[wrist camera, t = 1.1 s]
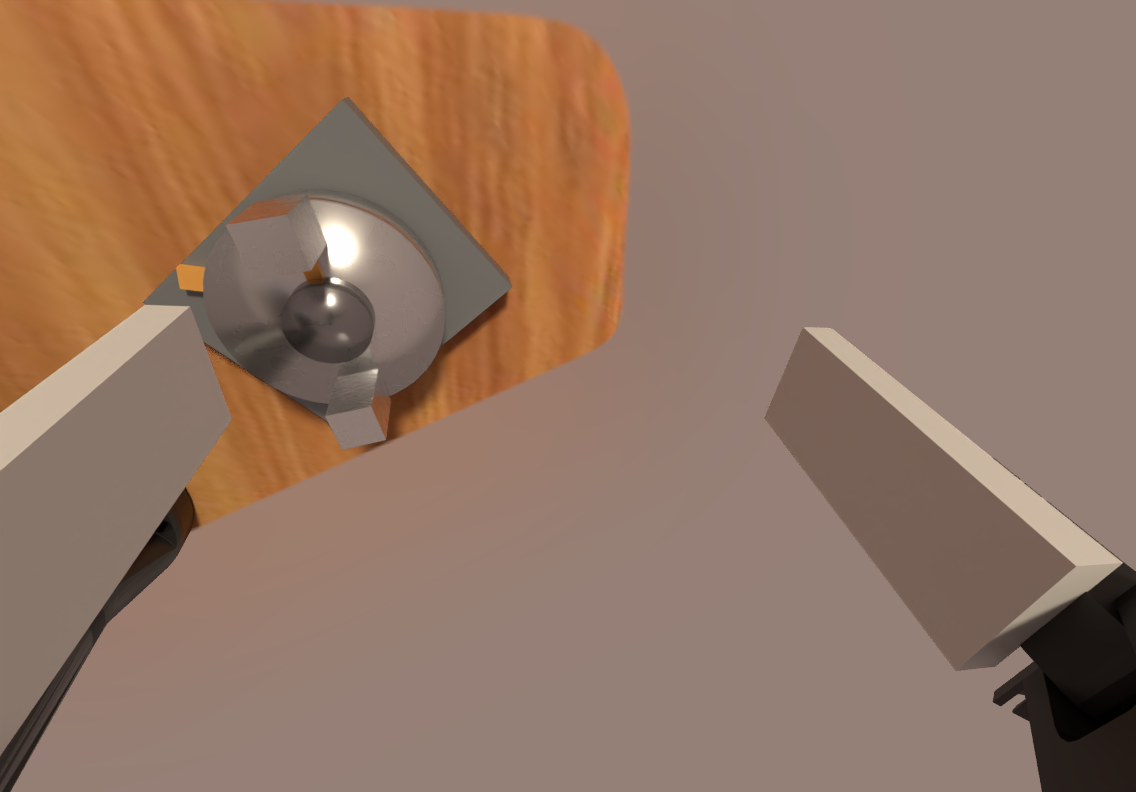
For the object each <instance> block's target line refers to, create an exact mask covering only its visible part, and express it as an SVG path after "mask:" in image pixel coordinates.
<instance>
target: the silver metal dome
mask: <svg viewBox="0 0 1136 792" xmlns="http://www.w3.org/2000/svg"><path fill="white" fill-rule="evenodd" d="M226 227H227V230H226V231H225V232H224V233H223V235H222V236H221V237H220V238H219V239H218V241H217V242H216V244H215V245H214V247H213V249H212V251H211V253H210V254H209V257H208V260H207V263H206V266H205V271H204V278H203V297H204V302H205V307H206V311H207V314H208V317H209V320H210V323H211V325H212V327H213V329H214V331H215V333H216V335H217V336H218V338H219V340H220V341H221V342H222V344H223V345H224V347H225V348H226V350H227V351H228V352H229V353H230V354H231V355H232V356H233V357H234V359H235V360H236V361H237V362H238V363H239V364H241V365H242V366H243V367H244V368H245V369H246V370H247V371H249V372H250V373H251V374H253V375H254V376H255V377H257V378H258V379H260V380H261V381H263V382H265V383H266V384H268V385H270V386H272V387H273V388H275V389H278V390H280V391H282V392H284V393H286V394H289V395H292V396H295V397H298V398H301V399H304V400H309V401H313V402H318V403H325V404H329V405H328V409H327V412H326V415H325V417H326V419H327V421H328V423H329V425H330V427H331V429H332V431H333V433H334V435H335V437H336V438H337V440H338V442H339V444H340V446H341V448H342V450H344V449H349V448H353V447H358V446H362V445H367V444H371V443H375V442H380V441H384V440H386V437H387V429H388V421H389V414H390V406H391V398H390V396H391V395H393V394H396V393H397V392H399V391H401V390H403V389H405V388H406V387H408V386H409V385H410V384H412V383H413V382H415V381H416V380H417V379H418V378H419V377H420V376H421V375H422V374H423V373H424V372H425V371H426V370H427V368H428V367H429V366H430V365H431V363H432V361H433V360H434V358H435V356H436V355H437V352H438V350H439V347H440V345H441V342H442V338H443V334H444V325H445V309H444V291H443V285H442V280H441V276H440V273H439V271H438V268H437V265H436V263H435V261H434V259H433V257H432V255H431V253H430V252H429V250H428V249H427V247H426V246H425V244H424V243H423V241H422V240H421V239H420V238H419V237H418V236H417V234H416V233H415V232H414V231H413V230H412V229H411V228H410V227H409V226H408V225H406V224H405V223H404V222H403V221H402V220H401V219H399V218H398V217H397V216H395V215H394V214H392V213H391V212H390V211H388V210H386V209H385V208H383V207H381V206H379V205H377V204H376V203H373V202H371V201H369V200H366V199H364V198H362V197H359V196H355V195H352V194H348V193H345V192H339V191H333V190H323V189H307V190H296V191H292V192H288V193H283V194H280V195H277V196H275V197H272V198H270V199H267V200H266V201H260V202H255V203H253V204H252V205H251V206H249V207H248V208H247V209H246V210H244V211H243V212H242V213H240V214H239V215H238V216H236V217H235V218H234V219H233V220H231V221H230V222H229V223H227V224H226Z"/></svg>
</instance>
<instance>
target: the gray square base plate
mask: <svg viewBox="0 0 1136 792" xmlns="http://www.w3.org/2000/svg"><path fill="white" fill-rule="evenodd" d="M307 189H323V190H333V191H339V192H345V193H348V194H352V195H355V196H359V197H362V198H364V199H366V200H369V201H371V202H373V203H376V204H377V205H379V206H381V207H383V208H385V209H386V210H388V211H390V212H391V213H392V214H394V215H395V216H397V217H398V218H399V219H401V220H402V221H403V222H404V223H405V224H406V225H408V226H409V227H410V228H411V229H412V230H413V231H414V232H415V233H416V234H417V236H418V237H419V238H420V239H421V240H422V241H423V243H424V244H425V246H426V247H427V249H428V250H429V252H430V253H431V255H432V257H433V259H434V261H435V263H436V265H437V268H438V271H439V273H440V276H441V280H442V285H443V291H444V309H445V325H444V334H443V338H442V342H441V345H440V347H441V346H442V345H443V344H445V343H446V342H447V341H448V340H449V339H451V338H452V337H453V336H454V335H456V334H457V333H458V332H459V331H460V330H462V329H463V328H464V327H465V326H466V325H468V324H469V323H470V322H471V321H472V320H474V319H475V318H476V317H477V316H478V315H480V314H481V313H482V312H483V311H484V310H486V309H487V308H488V307H489V306H490V305H492V304H493V303H494V302H495V301H496V300H498V299H499V298H500V297H501V296H502V295H504V294H505V293H506V292H507V291H508V290H510V289H511V288H512V286H511V283H510V280H509V277H508V276H507V275H506V273H505V272H504V271H503V270H502V269H501V268H500V267H499V266H498V264H497V263H496V262H495V261H494V260H493V259H492V258H491V257H490V255H489V254H488V253H487V252H486V251H485V250H484V249H483V248H482V247H481V245H480V244H479V243H478V242H477V241H476V240H475V239H474V238H473V236H472V235H471V234H470V233H469V232H468V231H467V230H466V229H465V227H464V226H463V225H462V224H461V223H460V222H459V221H458V220H457V218H456V217H455V216H454V215H453V214H452V213H451V212H450V211H449V210H448V208H447V207H446V206H445V205H444V204H443V203H442V202H441V201H440V199H439V198H438V197H437V196H436V195H435V194H434V193H433V192H432V190H431V189H430V188H429V187H428V186H427V185H426V184H425V183H424V182H423V180H422V179H421V178H420V177H419V176H418V175H417V174H416V173H415V171H414V170H413V169H412V168H411V167H410V166H409V165H408V164H407V162H406V161H405V160H404V159H403V158H402V157H401V156H400V155H399V154H398V152H397V151H396V150H395V149H394V148H393V147H392V146H391V145H390V143H389V142H388V141H387V140H386V139H385V138H384V137H383V136H382V134H381V133H380V132H379V131H378V130H377V129H376V128H375V127H374V125H373V124H372V123H371V122H370V121H369V120H368V119H367V118H366V117H365V115H364V114H363V113H362V112H361V111H360V110H359V109H358V108H357V106H356V105H355V104H354V103H353V102H352V101H351V100H350V99H349V97H347V98H344V99H342V100H341V101H340V102H339V103H338V104H337V105H336V106H335V107H334V108H333V109H332V110H331V111H330V112H329V113H328V114H327V115H326V116H325V117H324V118H323V119H322V121H321V122H320V123H319V124H318V125H317V126H316V127H315V128H314V129H313V130H312V131H311V132H310V133H309V134H308V135H307V136H306V137H305V138H304V139H303V140H302V141H301V142H300V143H299V144H298V145H297V146H296V147H295V148H294V149H293V150H292V151H291V152H290V153H289V154H288V155H287V156H286V157H285V158H284V159H283V160H282V161H281V162H280V163H279V164H278V165H277V166H276V167H275V168H274V169H273V170H272V171H271V172H270V173H269V175H268V176H267V177H266V178H265V179H264V180H263V181H262V182H261V183H260V184H259V185H258V186H257V187H256V188H255V189H254V190H253V191H252V192H251V193H250V194H249V195H248V196H247V197H246V198H245V199H244V200H243V201H242V202H241V203H240V204H239V205H238V206H237V207H236V208H235V209H234V210H233V211H232V212H231V213H230V214H229V215H228V216H227V217H226V218H225V219H224V220H223V221H222V222H221V223H220V224H219V225H218V226H217V227H216V228H215V230H214V231H213V232H212V233H211V234H210V235H209V236H208V237H207V238H206V239H205V240H204V241H203V242H202V243H201V244H200V245H199V246H198V247H197V248H196V249H195V250H194V251H193V252H192V253H191V254H190V255H189V256H188V257H187V258H186V259H185V260H184V261H183V262H182V263H181V264H180V265H179V266H178V267H176V269H175V270H174V271H173V272H172V273H171V274H170V275H169V276H168V277H167V278H166V279H165V280H164V281H163V282H162V284H161V285H160V286H159V287H158V288H157V289H156V290H155V291H154V292H153V293H152V294H151V295H150V296H149V297H148V298H147V299H146V300H145V301H144V302H143V303H144V304H146V305H163V306H190V307H191V310H192V313H193V315H194V318H195V321H196V323H197V326H198V329H199V331H200V334H201V337H202V340H203V342H205V343H206V344H208V345H209V346H211V347H212V348H214V349H215V350H217V351H218V352H220V353H222V354H223V355H225V356H226V357H228V358H229V359H231V360H232V361H234V362H236V363H237V364H239V363H238V362H237V361H236V360H235V359H234V357H233V356H232V355H231V354H230V353H229V352H228V351H227V350H226V348H225V347H224V345H223V344H222V342H221V341H220V340H219V338H218V336H217V335H216V333H215V331H214V329H213V327H212V325H211V323H210V320H209V317H208V314H207V311H206V307H205V302H204V297H203V278H204V271H205V266H206V263H207V260H208V257H209V254H210V253H211V251H212V249H213V247H214V245H215V244H216V242H217V241H218V239H219V238H220V237H221V236H222V235H223V233H224V232H225V231H226V230H227V227H226V224H227V223H229V222H230V221H231V220H233V219H234V218H235V217H236V216H238V215H239V214H240V213H242V212H243V211H244V210H246V209H247V208H248V207H249V206H251V205H252V204H253V203H255V202H260V201H266V200H267V199H270V198H272V197H275V196H277V195H280V194H283V193H288V192H292V191H296V190H307ZM440 347H439V348H440ZM239 365H240V366H242V365H241V364H239ZM242 367H243V366H242ZM243 368H244V367H243ZM277 390H278V389H277ZM279 391H280V390H279ZM281 392H282V391H281ZM282 393H284V392H282ZM284 394H285V395H287V396H288V397H290V398H291V399H293V400H294V401H296V402H298V403H299V404H301V405H302V406H304V407H305V408H307V409H308V410H310V411H312V412H313V413H315V414H316V415H318V416H319V417H321V418H322V419H324V420H326V421H327V419H326V417H325V415H326V412H327V409H328V405H329V404H325V403H318V402H313V401H309V400H304V399H301V398H298V397H295V396H292V395H289V394H286V393H284ZM327 422H328V421H327Z"/></svg>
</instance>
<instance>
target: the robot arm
mask: <svg viewBox="0 0 1136 792" xmlns="http://www.w3.org/2000/svg"><path fill="white" fill-rule="evenodd" d="M765 419H766V421H767V422H768V424H769V425H770V426H771V427H772V429H773V430H774V431H775V433H776V434H777V435H778V436H779V438H780V439H781V440H782V442H783V443H784V445H785V446H786V447H787V449H788V450H789V451H790V453H791V454H792V455H793V457H794V458H795V459H796V461H797V462H798V463H799V465H800V466H801V467H802V468H803V470H804V471H805V472H806V474H807V475H808V476H809V478H810V479H811V480H812V482H813V483H814V484H815V486H816V487H817V488H818V489H819V491H820V492H821V494H822V495H823V496H824V498H825V499H826V500H827V502H828V503H829V504H830V505H831V507H832V508H833V509H834V511H835V512H836V513H837V515H838V516H839V517H840V518H841V520H842V521H843V523H844V524H845V525H846V527H847V528H848V529H849V531H850V532H851V533H852V534H853V536H854V537H855V539H856V540H857V541H858V542H859V544H860V545H861V546H862V548H863V549H864V550H865V552H866V553H867V554H868V556H869V557H870V558H871V560H872V561H873V562H874V563H875V565H876V566H877V567H878V569H879V570H880V572H881V573H882V574H883V576H884V577H885V578H886V580H887V581H888V582H889V583H890V585H891V586H892V587H893V588H894V590H895V591H896V593H897V594H898V595H899V597H900V598H901V599H902V601H903V602H904V603H905V605H906V606H907V607H908V608H909V610H910V611H911V612H912V614H913V615H914V616H915V618H916V619H917V620H918V622H919V623H920V624H921V626H922V627H923V628H924V630H925V631H926V632H927V634H928V635H929V636H930V638H931V639H932V640H933V642H934V643H935V644H936V646H937V647H938V648H939V650H940V651H941V652H942V654H943V655H944V656H945V657H946V659H947V660H948V661H949V663H950V664H951V665H952V667H953V668H954V669H955V670H956V671H959V670H968V669H976V668H986V667H995V666H996V665H998V664H999V663H1000V662H1001V661H1003V660H1004V659H1005V658H1006V657H1007V656H1009V655H1010V654H1011V653H1012V652H1014V651H1015V650H1016V649H1017V648H1019V647H1020V646H1021V647H1022V648H1023V650H1024V651H1025V652H1026V653H1027V654H1028V655H1029V656H1030V657H1031V659H1033V661H1034V662H1032V663H1031V664H1030V665H1029V666H1027V667H1026V668H1025V669H1023V670H1022V671H1021V672H1019V673H1018V674H1017V675H1015V676H1014V677H1013V678H1012V679H1010V680H1009V681H1008V682H1006V683H1005V684H1004V685H1002V686H1001V687H1000V688H998V689H997V690H996V691H995V692H994V698H993V702H994V703H996V704H998V705H999V706H1002V705H1003V704H1005V703H1006V702H1007V701H1009V700H1010V699H1012V698H1013V697H1014V696H1016V695H1017V694H1022V695H1025V698H1026V699H1025V700H1024V701H1022V702H1021V703H1020V704H1018V705H1017V706H1016V707H1015V708H1014V709H1013V711H1012V712H1013V713H1014V714H1016V715H1018V716H1020V717H1022V718H1024V719H1026V720H1028V721H1030V726H1031V732H1032V737H1033V743H1034V749H1035V755H1036V759H1037V766H1038V771H1039V777H1040V782H1041V788H1042V792H1136V571H1134V570H1133V569H1132V568H1130V567H1129V566H1128V565H1126V564H1125V563H1124V562H1123V561H1121V560H1120V559H1119V558H1118V557H1116V556H1115V555H1114V554H1113V553H1112V552H1110V551H1109V550H1108V549H1106V548H1105V547H1104V546H1103V545H1102V544H1100V543H1099V542H1098V541H1096V540H1095V539H1094V538H1093V537H1092V536H1090V535H1089V534H1088V533H1087V532H1085V531H1084V530H1083V529H1082V528H1080V527H1079V526H1078V525H1077V524H1075V523H1074V522H1073V521H1072V520H1070V519H1069V518H1068V517H1066V516H1065V515H1064V514H1063V513H1062V512H1060V511H1059V510H1058V509H1057V508H1056V507H1054V506H1053V505H1052V504H1051V503H1049V502H1048V501H1045V500H1044V499H1043V498H1042V496H1040V495H1039V494H1038V493H1037V492H1035V491H1034V490H1033V489H1032V488H1031V487H1029V486H1028V485H1027V484H1026V483H1023V482H1022V481H1020V479H1019V478H1018V477H1017V476H1016V475H1014V474H1013V473H1012V472H1011V471H1009V470H1008V469H1007V468H1006V467H1004V466H1003V465H1002V464H1001V463H999V462H998V461H997V460H996V459H994V458H993V457H991V456H990V455H988V454H987V453H986V452H985V451H983V450H982V449H981V448H980V447H978V446H977V445H976V444H975V443H973V442H972V441H971V440H969V439H968V438H967V437H966V436H965V435H963V434H962V433H961V432H960V431H958V430H957V429H956V428H955V427H954V426H952V425H951V424H950V423H949V422H947V421H946V420H945V419H943V418H942V417H941V416H940V415H939V414H937V413H936V412H935V411H934V410H932V409H931V408H930V407H929V406H927V405H926V404H925V403H924V402H922V401H921V400H920V399H919V398H917V397H916V396H915V395H914V394H912V393H911V392H910V391H909V390H908V389H906V388H905V387H904V386H903V385H901V384H900V383H899V382H898V381H896V380H895V379H894V378H893V377H891V376H890V375H889V374H888V373H886V372H885V371H884V370H882V369H881V368H880V367H879V366H878V365H876V364H875V363H874V362H873V361H872V360H870V359H869V358H868V357H866V356H865V355H864V354H863V353H862V352H860V351H859V350H858V349H857V348H855V347H854V346H853V345H852V344H850V343H849V342H848V341H847V340H845V339H844V338H843V337H842V336H840V335H839V334H838V333H837V332H836V331H834V330H833V329H832V328H809V327H803V329H802V331H801V333H800V336H799V338H798V341H797V343H796V345H795V347H794V350H793V352H792V354H791V357H790V359H789V361H788V364H787V366H786V368H785V371H784V373H783V376H782V378H781V380H780V382H779V385H778V387H777V390H776V392H775V394H774V397H773V399H772V401H771V403H770V406H769V408H768V411H767V413H766V415H765ZM231 420H232V417H231V415H230V412H229V409H228V407H227V404H226V401H225V399H224V396H223V393H222V391H221V388H220V385H219V382H218V380H217V377H216V374H215V372H214V369H213V366H212V364H211V361H210V358H209V356H208V353H207V350H206V348H205V345H204V342H203V340H202V337H201V334H200V331H199V329H198V326H197V323H196V321H195V318H194V315H193V313H192V310H191V307H190V306H163V305H144V306H143V307H141V308H140V309H139V310H137V311H136V312H135V313H133V314H132V315H131V316H129V317H128V318H127V319H125V320H124V321H123V322H121V323H120V324H119V325H117V326H116V327H115V328H113V329H112V330H111V331H109V332H108V333H107V334H105V335H104V336H103V337H101V338H100V339H99V340H97V341H96V342H95V343H93V344H92V345H91V346H89V347H88V348H87V349H85V350H84V351H83V352H81V353H80V354H79V355H77V356H76V357H75V358H73V359H72V360H71V361H69V362H68V363H66V364H65V365H64V366H62V367H61V368H60V369H58V370H57V371H56V372H54V373H53V374H52V375H50V376H49V377H48V378H46V379H45V380H44V381H42V382H41V383H40V384H38V385H37V386H36V387H34V388H33V389H32V390H30V391H29V392H28V393H26V394H25V395H24V396H22V397H21V398H20V399H18V400H17V401H16V402H14V403H13V404H12V405H10V406H9V407H8V408H6V409H5V410H4V411H2V412H1V413H0V792H11V790H12V788H13V786H14V785H15V783H16V781H17V779H18V777H19V776H20V774H21V772H22V770H23V769H24V767H25V765H26V763H27V762H28V760H29V758H30V756H31V755H32V753H33V751H34V749H35V748H36V746H37V744H38V742H39V741H40V739H41V737H42V735H43V734H44V732H45V730H46V728H47V726H48V725H49V723H50V721H51V720H52V717H53V716H54V714H55V713H56V711H57V709H58V707H59V705H60V704H61V702H62V700H63V699H64V697H65V695H66V693H67V691H68V690H69V688H70V686H71V685H72V683H73V681H74V679H75V677H76V676H77V674H78V672H79V670H80V669H81V667H82V665H83V664H84V662H85V660H86V658H87V656H88V655H89V653H90V651H91V649H92V648H93V646H94V644H95V643H96V641H97V639H98V638H99V636H100V634H101V632H102V631H103V629H104V627H105V626H106V624H107V623H108V622H109V621H110V620H111V619H112V618H113V617H114V616H116V615H117V614H118V612H120V611H121V610H122V609H123V608H124V607H125V606H126V605H128V604H129V603H130V602H131V601H132V600H133V599H134V598H135V597H136V596H137V595H138V594H139V593H141V591H143V590H144V589H145V588H146V587H147V586H148V585H149V584H150V583H151V582H152V581H153V580H154V579H156V578H157V577H158V576H159V575H160V574H161V573H162V572H163V571H164V570H165V569H167V568H168V566H169V565H170V564H171V563H172V562H173V561H174V559H175V558H176V556H177V555H178V553H179V552H180V550H181V548H182V546H183V544H184V542H185V540H186V538H187V536H188V534H189V533H190V530H191V528H192V524H193V507H192V503H191V501H190V498H189V496H188V494H187V492H186V490H185V489H184V488H185V487H186V485H187V484H188V482H189V481H190V480H191V478H192V477H193V475H194V474H195V472H196V471H197V469H198V468H199V466H200V465H201V464H202V462H203V461H204V459H205V458H206V456H207V455H208V453H209V452H210V451H211V449H212V448H213V446H214V445H215V443H216V442H217V440H218V439H219V437H220V436H221V435H222V433H223V432H224V430H225V429H226V427H227V426H228V424H229V423H230V421H231Z"/></svg>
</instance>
